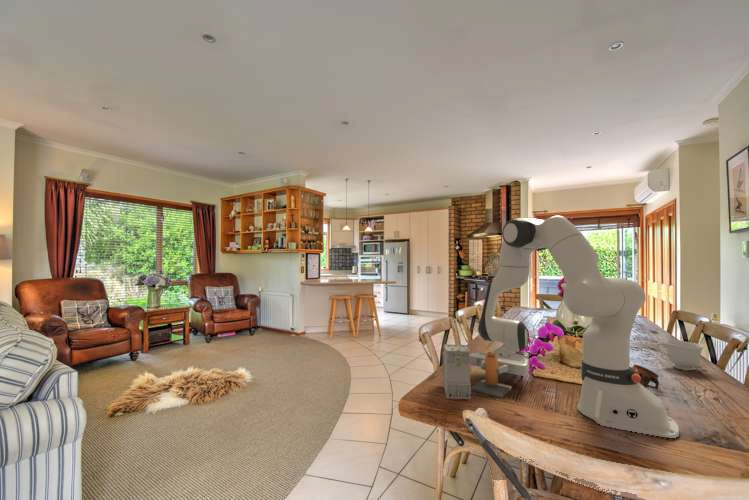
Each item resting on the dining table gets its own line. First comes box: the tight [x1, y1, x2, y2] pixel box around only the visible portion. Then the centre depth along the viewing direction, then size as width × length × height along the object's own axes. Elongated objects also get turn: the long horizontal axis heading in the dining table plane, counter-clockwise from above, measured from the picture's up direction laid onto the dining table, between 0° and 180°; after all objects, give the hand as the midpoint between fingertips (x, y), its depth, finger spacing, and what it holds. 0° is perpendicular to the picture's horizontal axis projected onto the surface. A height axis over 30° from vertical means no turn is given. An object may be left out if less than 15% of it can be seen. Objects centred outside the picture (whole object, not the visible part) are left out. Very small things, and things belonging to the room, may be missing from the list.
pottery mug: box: [630, 363, 660, 389], centre depth 115 cm, size 12×10×8 cm
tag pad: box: [471, 379, 512, 399], centre depth 113 cm, size 10×10×1 cm
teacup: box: [655, 339, 705, 371], centre depth 136 cm, size 12×15×10 cm
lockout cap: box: [484, 351, 499, 385], centre depth 113 cm, size 4×4×10 cm
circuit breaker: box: [442, 343, 472, 400], centre depth 113 cm, size 8×14×15 cm, turn 174°
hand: (490, 368), depth 113 cm, fingers closed on lockout cap, 4 cm apart
